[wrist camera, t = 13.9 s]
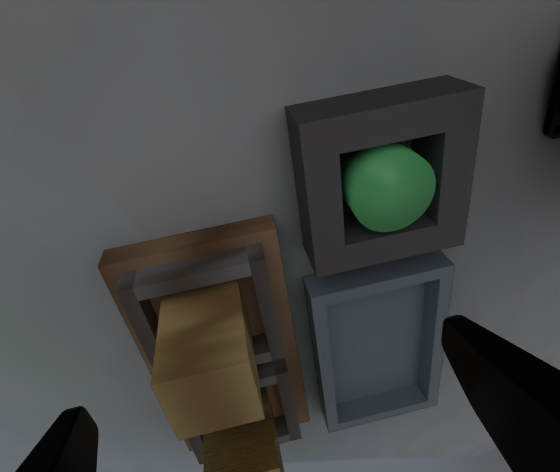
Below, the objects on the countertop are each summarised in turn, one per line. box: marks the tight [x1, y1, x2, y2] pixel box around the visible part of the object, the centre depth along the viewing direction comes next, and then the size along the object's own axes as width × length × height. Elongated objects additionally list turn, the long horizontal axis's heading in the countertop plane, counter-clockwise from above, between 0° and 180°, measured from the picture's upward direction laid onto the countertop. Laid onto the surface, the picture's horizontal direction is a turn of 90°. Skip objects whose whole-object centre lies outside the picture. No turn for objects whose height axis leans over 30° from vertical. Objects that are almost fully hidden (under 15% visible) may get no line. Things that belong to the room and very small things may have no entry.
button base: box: [285, 75, 485, 278], centre depth 19 cm, size 8×8×3 cm
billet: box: [203, 386, 284, 472], centre depth 24 cm, size 4×4×6 cm
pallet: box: [98, 215, 310, 464], centre depth 22 cm, size 9×17×8 cm, turn 8°
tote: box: [303, 250, 455, 433], centre depth 27 cm, size 9×14×2 cm, turn 8°
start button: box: [340, 142, 436, 232], centre depth 19 cm, size 4×4×3 cm
